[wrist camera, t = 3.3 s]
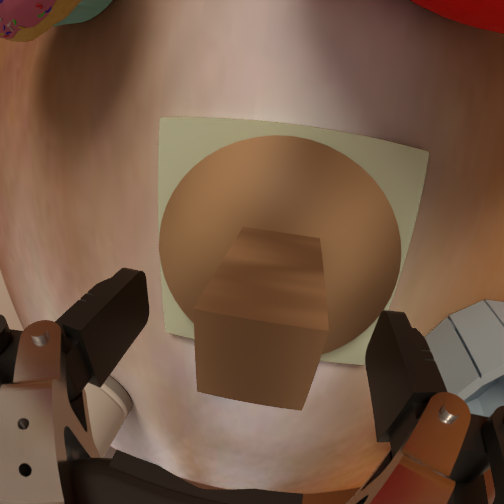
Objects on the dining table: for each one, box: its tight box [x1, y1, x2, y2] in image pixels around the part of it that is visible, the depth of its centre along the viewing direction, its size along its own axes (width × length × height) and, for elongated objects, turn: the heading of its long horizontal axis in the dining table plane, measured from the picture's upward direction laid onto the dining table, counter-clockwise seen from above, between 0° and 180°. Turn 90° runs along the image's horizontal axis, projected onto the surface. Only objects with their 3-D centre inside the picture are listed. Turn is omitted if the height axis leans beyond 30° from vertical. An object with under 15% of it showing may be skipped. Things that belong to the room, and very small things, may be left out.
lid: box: [159, 135, 401, 410], centre depth 10 cm, size 11×11×7 cm
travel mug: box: [84, 375, 132, 458], centre depth 13 cm, size 6×7×20 cm
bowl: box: [424, 300, 504, 417], centre depth 13 cm, size 10×10×5 cm
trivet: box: [158, 117, 429, 365], centre depth 14 cm, size 12×12×1 cm
